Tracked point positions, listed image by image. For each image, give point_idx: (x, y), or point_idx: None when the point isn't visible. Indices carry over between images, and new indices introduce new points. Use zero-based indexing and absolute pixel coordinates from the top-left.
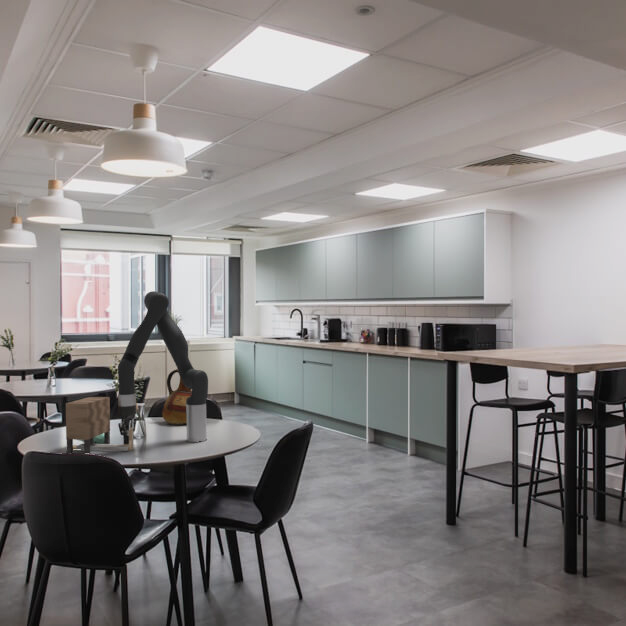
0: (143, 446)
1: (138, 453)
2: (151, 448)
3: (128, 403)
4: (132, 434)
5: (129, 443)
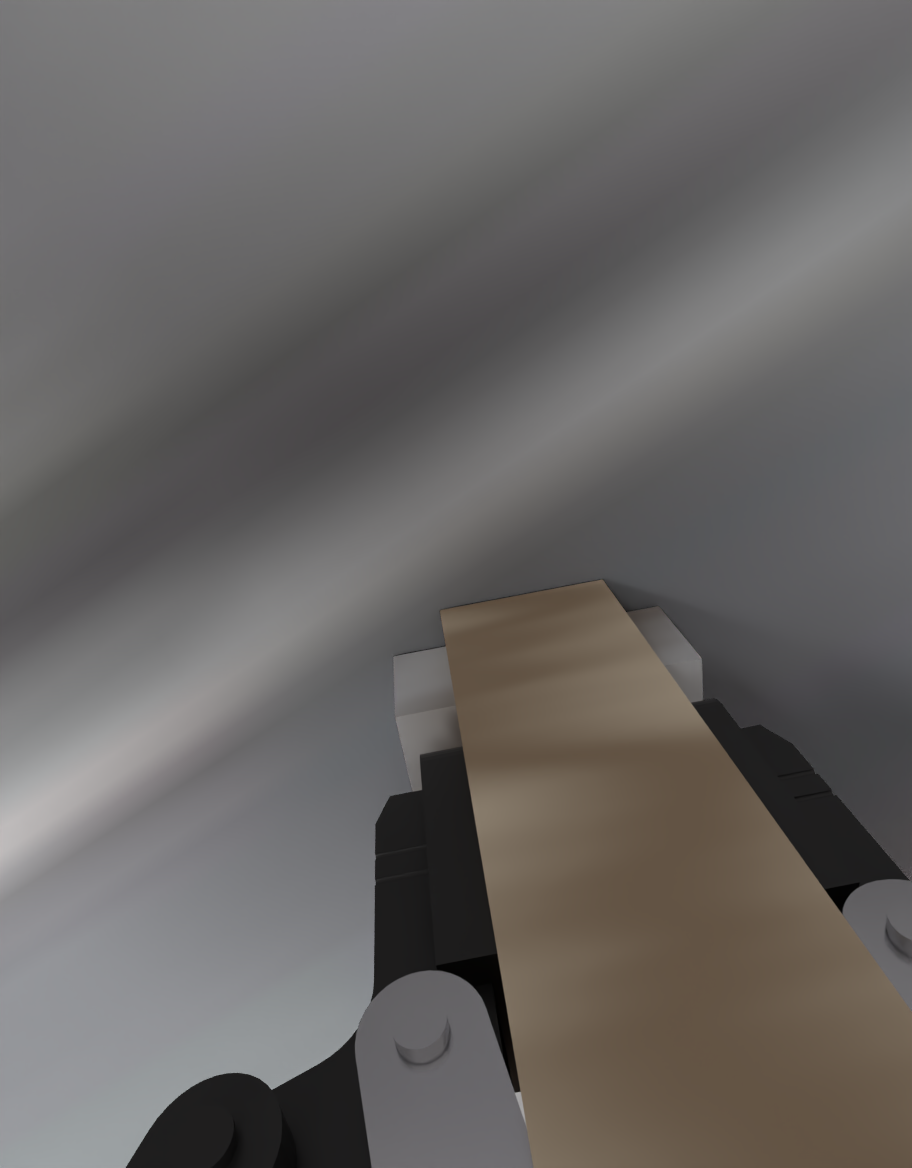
0: (29, 582)
1: (819, 202)
2: (137, 187)
3: None
4: (538, 905)
5: (673, 687)
